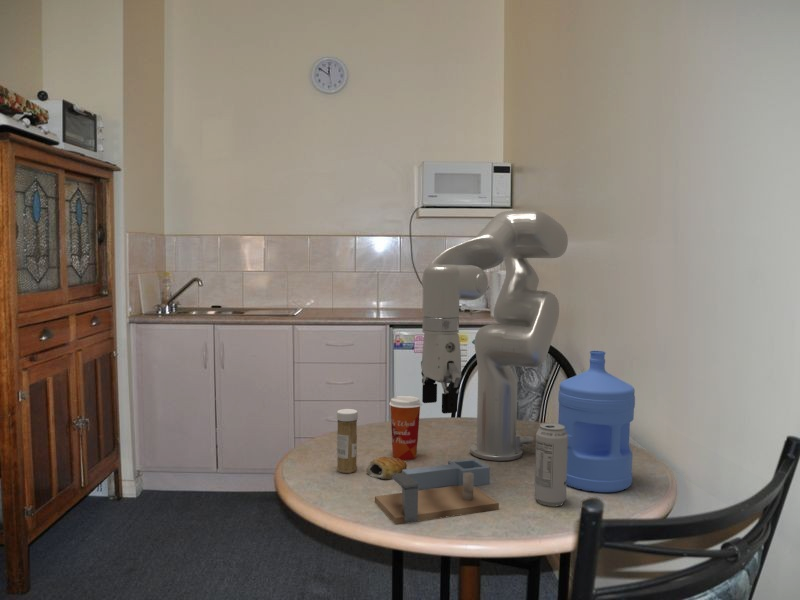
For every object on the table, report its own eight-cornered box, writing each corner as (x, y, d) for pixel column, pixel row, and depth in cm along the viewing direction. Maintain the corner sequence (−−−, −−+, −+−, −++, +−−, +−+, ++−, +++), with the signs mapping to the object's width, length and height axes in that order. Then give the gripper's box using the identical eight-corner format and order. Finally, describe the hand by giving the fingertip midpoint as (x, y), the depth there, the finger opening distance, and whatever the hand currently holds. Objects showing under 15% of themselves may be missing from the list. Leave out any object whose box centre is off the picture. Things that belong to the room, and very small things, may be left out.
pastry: (391, 465, 146) (392, 449, 146) (414, 472, 142) (415, 455, 142) (363, 475, 139) (363, 458, 139) (386, 483, 135) (387, 465, 135)
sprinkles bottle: (360, 471, 141) (361, 411, 140) (342, 475, 139) (343, 413, 138) (350, 465, 145) (351, 407, 144) (332, 469, 142) (333, 409, 142)
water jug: (541, 473, 142) (545, 348, 140) (599, 466, 147) (603, 345, 146) (585, 497, 127) (590, 358, 126) (648, 489, 133) (653, 355, 131)
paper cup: (383, 459, 150) (384, 400, 149) (395, 450, 157) (396, 394, 156) (414, 463, 147) (415, 403, 146) (425, 454, 154) (426, 397, 154)
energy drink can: (571, 505, 123) (574, 429, 122) (543, 508, 121) (546, 430, 120) (555, 494, 129) (557, 421, 128) (528, 497, 127) (530, 423, 126)
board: (471, 489, 131) (471, 460, 130) (498, 509, 121) (499, 477, 120) (374, 502, 123) (375, 471, 123) (395, 524, 113) (395, 491, 112)
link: (474, 474, 140) (475, 458, 140) (489, 483, 134) (490, 467, 134) (398, 483, 134) (398, 467, 134) (410, 494, 128) (411, 477, 127)
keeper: (403, 507, 120) (404, 472, 120) (417, 521, 114) (418, 483, 114) (391, 509, 120) (391, 473, 119) (404, 523, 113) (405, 485, 113)
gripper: (476, 329, 125) (474, 415, 126) (439, 321, 141) (438, 397, 142) (441, 330, 122) (440, 418, 123) (408, 322, 138) (406, 400, 139)
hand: (439, 407), depth 133 cm, fingers open, 9 cm apart
